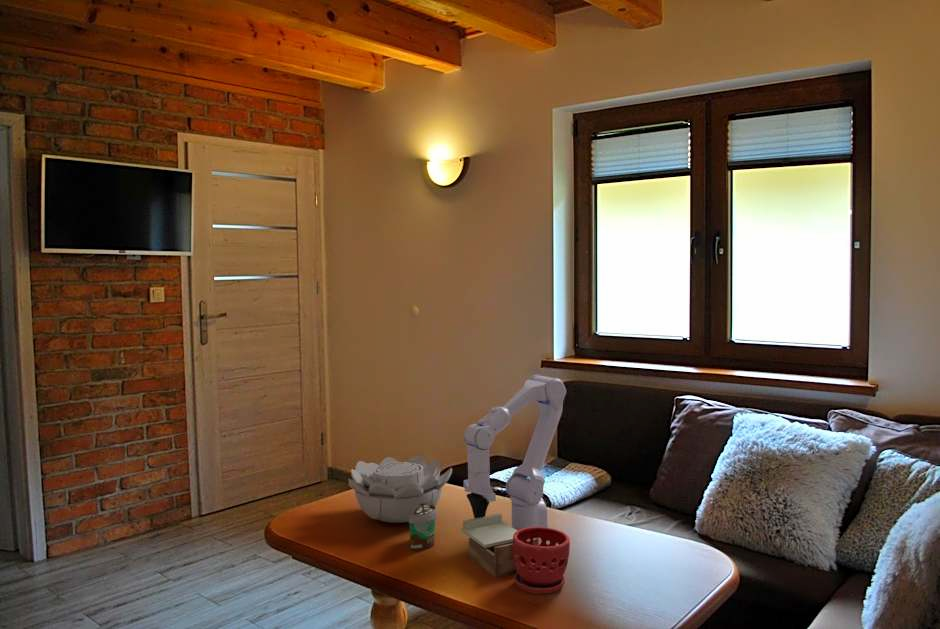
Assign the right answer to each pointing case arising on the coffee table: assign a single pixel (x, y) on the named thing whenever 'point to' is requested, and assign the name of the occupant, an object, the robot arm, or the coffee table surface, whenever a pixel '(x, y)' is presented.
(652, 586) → the coffee table surface
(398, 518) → the decorative bowl
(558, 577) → the plant pot
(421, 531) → the food container
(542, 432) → the robot arm
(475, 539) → the lid
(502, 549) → the box
